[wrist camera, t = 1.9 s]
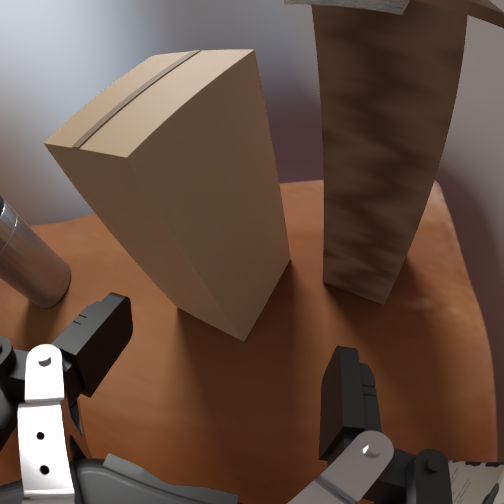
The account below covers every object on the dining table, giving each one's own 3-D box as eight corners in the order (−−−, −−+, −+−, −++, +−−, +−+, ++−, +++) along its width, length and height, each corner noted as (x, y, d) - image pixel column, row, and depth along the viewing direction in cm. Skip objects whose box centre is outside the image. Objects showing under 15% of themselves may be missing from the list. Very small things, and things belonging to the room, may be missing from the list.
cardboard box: (177, 307, 38) (43, 142, 17) (224, 235, 43) (152, 54, 22) (244, 341, 34) (125, 156, 13) (290, 258, 39) (253, 48, 18)
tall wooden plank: (307, 276, 38) (271, -23, 11) (332, 224, 41) (321, -34, 15) (399, 310, 33) (506, 15, 7) (415, 253, 36) (482, -5, 10)
